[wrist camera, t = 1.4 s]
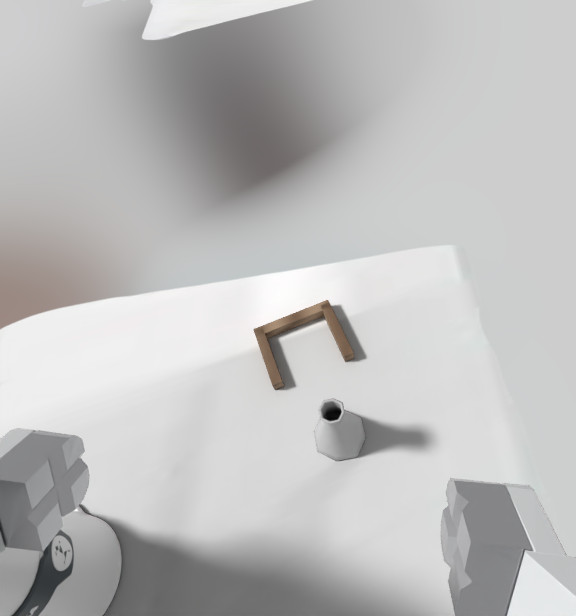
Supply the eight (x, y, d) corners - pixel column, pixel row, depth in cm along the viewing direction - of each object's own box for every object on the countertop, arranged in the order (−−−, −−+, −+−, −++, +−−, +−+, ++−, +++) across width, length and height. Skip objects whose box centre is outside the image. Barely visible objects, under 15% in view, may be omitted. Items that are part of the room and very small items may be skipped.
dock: (275, 389, 67) (272, 385, 65) (256, 334, 73) (253, 329, 71) (354, 358, 67) (353, 352, 66) (329, 305, 73) (327, 299, 72)
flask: (368, 412, 62) (364, 385, 54) (363, 465, 59) (358, 444, 50) (318, 407, 64) (307, 380, 56) (310, 457, 61) (297, 436, 52)
